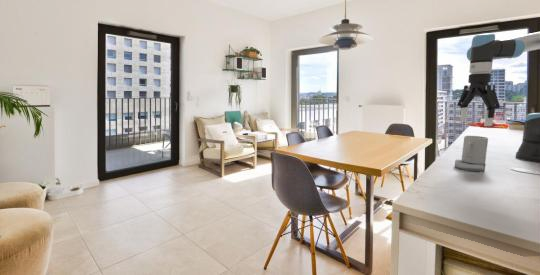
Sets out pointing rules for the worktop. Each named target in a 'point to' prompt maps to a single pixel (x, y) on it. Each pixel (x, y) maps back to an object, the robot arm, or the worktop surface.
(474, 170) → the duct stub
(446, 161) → the worktop surface
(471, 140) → the mug
